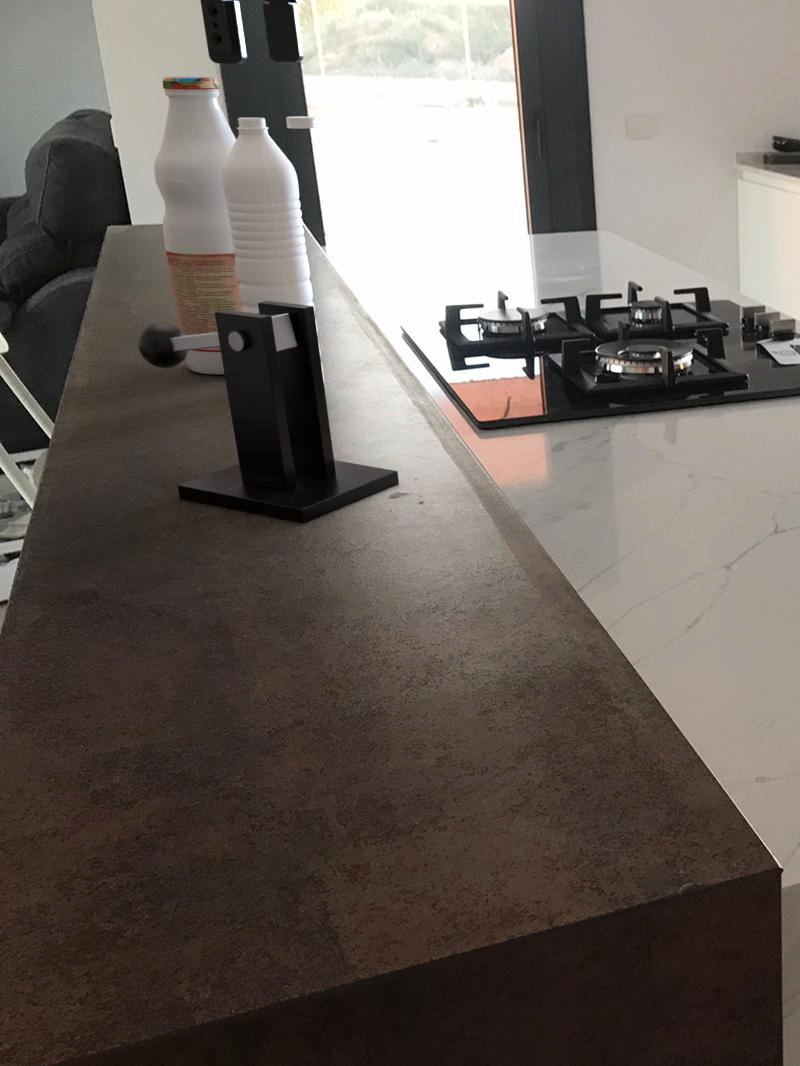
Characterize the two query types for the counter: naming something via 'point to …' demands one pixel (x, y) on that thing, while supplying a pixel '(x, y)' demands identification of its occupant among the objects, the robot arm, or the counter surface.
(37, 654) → the counter surface
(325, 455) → the tap bracket
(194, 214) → the fruit juice
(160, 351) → the lever with ball knob
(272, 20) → the robot arm
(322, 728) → the counter surface
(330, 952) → the counter surface
